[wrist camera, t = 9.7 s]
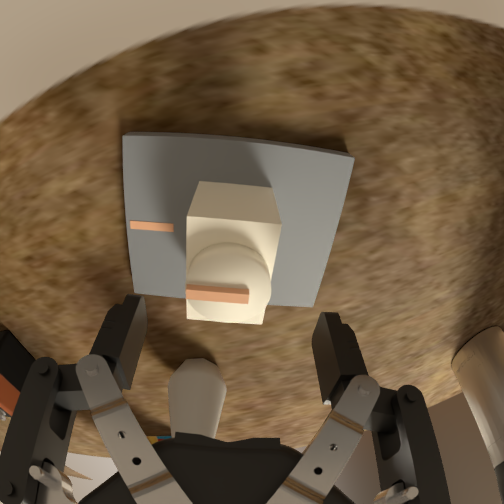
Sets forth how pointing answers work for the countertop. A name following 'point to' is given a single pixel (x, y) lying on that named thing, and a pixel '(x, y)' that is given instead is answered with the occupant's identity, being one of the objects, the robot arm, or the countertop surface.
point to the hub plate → (234, 172)
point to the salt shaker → (196, 398)
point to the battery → (12, 372)
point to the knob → (230, 252)
